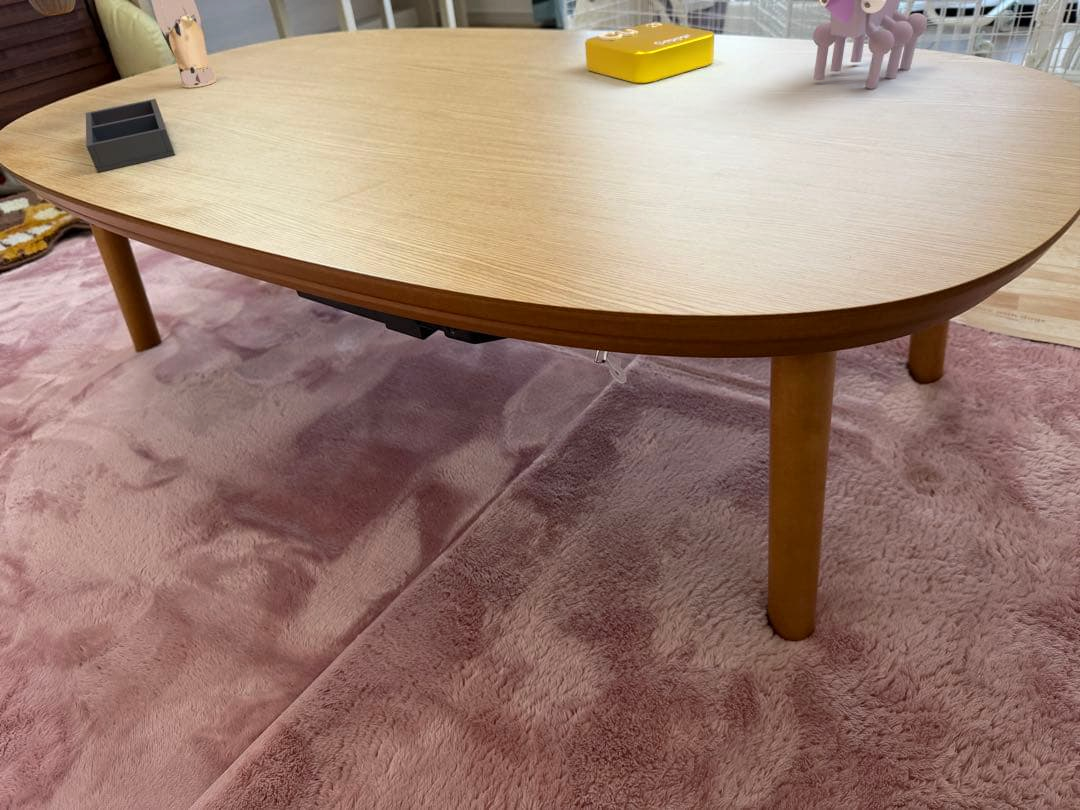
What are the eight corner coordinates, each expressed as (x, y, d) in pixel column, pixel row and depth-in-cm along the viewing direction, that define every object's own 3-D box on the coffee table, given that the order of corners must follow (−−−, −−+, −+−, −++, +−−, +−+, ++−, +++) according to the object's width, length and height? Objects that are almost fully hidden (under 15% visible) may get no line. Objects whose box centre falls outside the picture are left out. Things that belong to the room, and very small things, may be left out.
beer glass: (178, 83, 146) (147, -8, 138) (217, 75, 148) (189, -15, 139) (181, 91, 141) (148, -3, 132) (221, 83, 143) (192, -10, 134)
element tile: (641, 85, 116) (641, 50, 113) (581, 69, 126) (579, 36, 124) (719, 62, 122) (720, 28, 119) (655, 49, 132) (655, 17, 129)
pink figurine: (852, 109, 99) (867, -14, 90) (774, 98, 105) (783, -17, 97) (924, 68, 109) (944, -45, 101) (850, 60, 116) (863, -47, 108)
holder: (97, 172, 108) (86, 146, 106) (95, 136, 123) (85, 112, 120) (175, 155, 111) (165, 128, 109) (164, 122, 126) (155, 98, 123)
